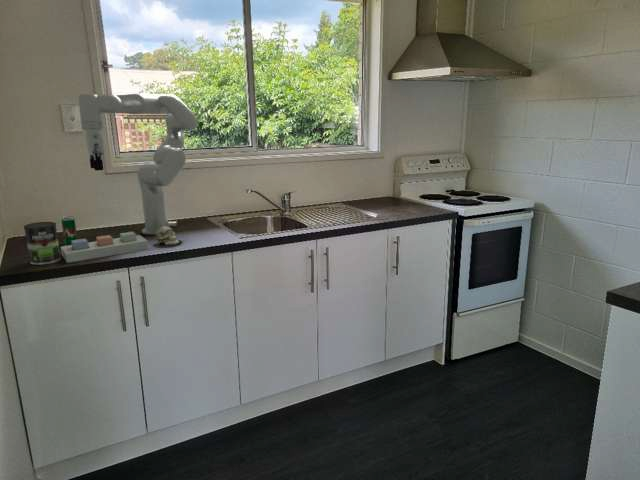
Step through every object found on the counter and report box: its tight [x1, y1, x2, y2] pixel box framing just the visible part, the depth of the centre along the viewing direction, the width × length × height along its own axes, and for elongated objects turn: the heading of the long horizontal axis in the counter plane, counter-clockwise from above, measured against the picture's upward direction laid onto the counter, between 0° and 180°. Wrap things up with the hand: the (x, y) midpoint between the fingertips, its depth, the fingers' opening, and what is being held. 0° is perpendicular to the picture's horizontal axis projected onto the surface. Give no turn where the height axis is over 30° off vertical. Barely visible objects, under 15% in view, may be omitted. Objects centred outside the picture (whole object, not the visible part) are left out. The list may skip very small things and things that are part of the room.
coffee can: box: [23, 221, 62, 266], centre depth 173 cm, size 10×10×14 cm
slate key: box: [71, 238, 89, 251], centre depth 179 cm, size 5×5×4 cm
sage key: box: [119, 231, 137, 243], centre depth 190 cm, size 5×5×4 cm
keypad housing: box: [60, 234, 150, 264], centre depth 185 cm, size 30×12×4 cm, turn 127°
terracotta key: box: [95, 234, 114, 247], centre depth 185 cm, size 5×5×4 cm
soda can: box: [60, 215, 78, 246], centre depth 195 cm, size 5×5×12 cm
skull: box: [152, 226, 183, 248], centre depth 197 cm, size 12×10×10 cm
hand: (97, 169), depth 189 cm, fingers open, 9 cm apart
